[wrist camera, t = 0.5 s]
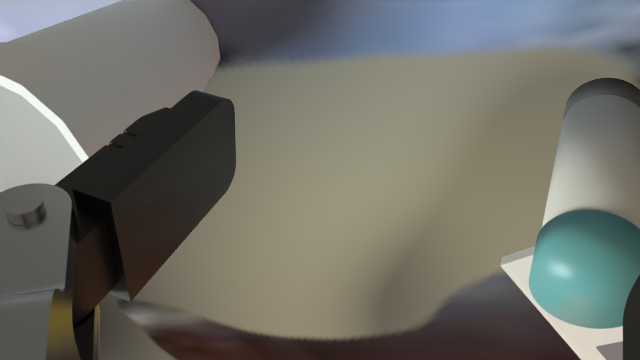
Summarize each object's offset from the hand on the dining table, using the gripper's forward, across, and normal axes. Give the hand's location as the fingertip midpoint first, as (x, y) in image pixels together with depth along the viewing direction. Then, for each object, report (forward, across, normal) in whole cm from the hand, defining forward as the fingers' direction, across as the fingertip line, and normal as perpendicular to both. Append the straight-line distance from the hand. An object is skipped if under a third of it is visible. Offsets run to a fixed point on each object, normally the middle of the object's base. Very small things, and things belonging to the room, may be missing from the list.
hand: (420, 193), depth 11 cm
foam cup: (+20, +19, +10) cm, 29 cm away
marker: (+20, -6, +7) cm, 22 cm away
